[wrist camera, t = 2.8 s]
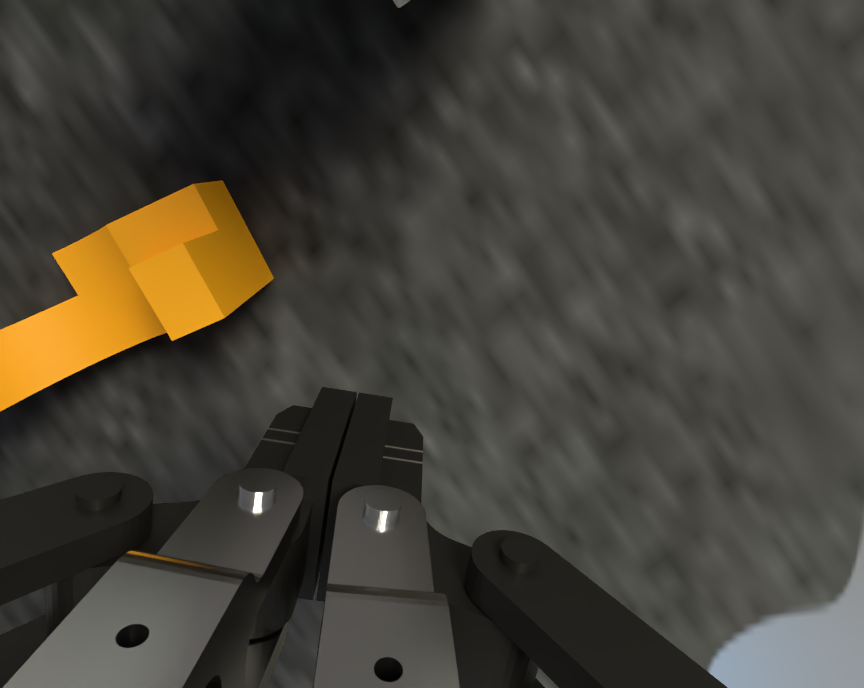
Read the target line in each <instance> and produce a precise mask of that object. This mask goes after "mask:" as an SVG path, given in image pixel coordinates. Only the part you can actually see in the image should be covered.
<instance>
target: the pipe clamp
mask: <svg viewBox="0 0 864 688" xmlns="http://www.w3.org/2000/svg"><path fill="white" fill-rule="evenodd" d="M52 255H53V256H54V258H55V259H56V261H57V262H58V264H59V266H60V267H61V269H62V270H63V272H64V273H65V275H66V277H67V278H68V280H69V281H70V283H71V284H72V286H73V288H74V289H75V291H76V292H77V294H78V296H76V297H74V298H72V299H69V300H67V301H65V302H63V303H60V304H58V305H56V306H54V307H51V308H49V309H47V310H45V311H42V312H40V313H38V314H36V315H33V316H31V317H29V318H27V319H24V320H22V321H20V322H18V323H15V324H13V325H11V326H8V327H6V328H4V329H1V330H0V411H2V410H4V409H6V408H8V407H10V406H12V405H13V404H15V403H17V402H19V401H21V400H23V399H25V398H27V397H28V396H30V395H32V394H34V393H36V392H38V391H40V390H42V389H44V388H46V387H48V386H50V385H52V384H54V383H56V382H58V381H60V380H62V379H64V378H66V377H68V376H70V375H72V374H74V373H76V372H78V371H80V370H82V369H84V368H86V367H88V366H90V365H92V364H94V363H97V362H99V361H101V360H103V359H105V358H107V357H109V356H112V355H114V354H116V353H118V352H120V351H123V350H125V349H127V348H129V347H132V346H134V345H136V344H139V343H141V342H144V341H146V340H148V339H151V338H154V337H156V336H159V335H162V334H164V333H167V334H168V335H169V337H170V339H171V340H172V341H173V340H176V339H178V338H180V337H182V336H185V335H187V334H189V333H192V332H194V331H196V330H198V329H201V328H203V327H205V326H208V325H210V324H212V323H214V322H217V321H219V320H221V319H223V318H225V317H227V316H228V315H229V314H230V313H232V312H233V311H234V310H235V309H237V308H238V307H239V306H240V305H242V304H243V303H244V302H245V301H247V300H248V299H249V298H250V297H252V296H253V295H254V294H255V293H257V292H258V291H259V290H260V289H262V288H263V287H264V286H265V285H267V284H268V283H269V282H270V281H272V280H273V279H274V277H273V275H272V274H271V272H270V270H269V268H268V266H267V264H266V262H265V260H264V258H263V256H262V254H261V253H260V251H259V249H258V247H257V245H256V243H255V241H254V239H253V237H252V235H251V233H250V232H249V230H248V228H247V226H246V224H245V222H244V220H243V218H242V216H241V214H240V212H239V211H238V209H237V207H236V205H235V203H234V201H233V199H232V197H231V195H230V193H229V192H228V190H227V188H226V186H225V184H224V182H223V180H222V181H213V182H205V183H196V184H192V185H190V186H188V187H186V188H184V189H181V190H179V191H177V192H175V193H173V194H171V195H169V196H167V197H165V198H162V199H160V200H158V201H156V202H154V203H152V204H150V205H148V206H145V207H143V208H141V209H139V210H137V211H135V212H133V213H131V214H128V215H126V216H124V217H122V218H120V219H118V220H116V221H114V222H112V223H109V224H107V225H106V226H104V227H103V228H101V229H99V230H98V231H96V232H94V233H92V234H91V235H89V236H87V237H85V238H83V239H81V240H79V241H77V242H75V243H73V244H71V245H69V246H67V247H65V248H63V249H61V250H58V251H56V252H54V253H52Z"/></svg>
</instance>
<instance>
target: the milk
mask: <svg viewBox="0 0 864 688" xmlns="http://www.w3.org/2000/svg"><path fill="white" fill-rule="evenodd" d="M393 1H394V3H395V5H396V6H397V7H398V8H400V7H402V6H403V5H405V4H406V3H407V2H409V1H410V0H393Z"/></svg>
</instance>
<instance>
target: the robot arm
mask: <svg viewBox="0 0 864 688" xmlns="http://www.w3.org/2000/svg"><path fill="white" fill-rule="evenodd" d="M356 396H357V393H356V392H351V391H345V390H339V389H332V388H326V387H322V389H321V391H320V393H319V395H318V397H317V399H316V401H315V403H314V406H313V408H307V407H301V406H294V405H293V406H291V407H289V408H287V409H286V410H284V411H282V412H280V413H278V414H277V415H276V417H275V418H274V420H273V422H272V423H271V425H270V427H269V430H267V432H266V433H265V435H264V437H263V440H261V442H260V443H259V445H258V447H257V448H256V450H255V452H254V454H253V455H252V457H251V459H250V460H249V462H248V464H247V465H246V467H245V469H241V470H237V471H234V472H231V473H228V474H226V475H224V476H223V477H221V478H220V479H218V480H217V481H216V482H215V483H214V484H213V486H212V487H211V488H210V489H209V491H208V492H207V493H206V494H205V495H204V497H203V498H202V499H201V500H199V501H193V502H182V503H163V504H153V490H152V488H151V486H150V485H149V484H148V483H147V482H146V481H144V480H143V479H141V478H139V477H137V476H134V475H130V474H125V473H116V472H103V473H93V474H88V475H83V476H79V477H76V478H72V479H69V480H66V481H62V482H59V483H55V484H52V485H49V486H45V487H42V488H39V489H35V490H32V491H29V492H25V493H22V494H19V495H15V496H12V497H9V498H5V499H2V500H0V605H3V604H5V603H7V602H10V601H12V600H15V599H17V598H19V597H22V596H24V595H26V594H29V593H31V592H34V591H36V590H38V589H41V588H43V587H45V602H46V615H44V616H42V617H39V618H37V619H35V620H33V621H31V622H28V623H26V624H24V625H22V626H20V627H17V628H15V629H13V630H11V631H9V632H6V633H4V634H2V635H0V688H266V687H267V685H268V682H269V680H270V677H271V675H272V672H273V670H274V667H275V665H276V662H277V660H278V657H279V655H280V652H281V650H282V647H283V645H284V642H285V640H286V636H287V631H288V622H289V619H290V618H291V616H292V614H293V611H294V608H295V605H296V601H297V598H302V599H309V600H313V596H314V592H315V588H316V585H317V581H318V577H319V573H320V578H319V585H318V593H317V600H318V601H325V602H324V609H323V617H322V623H321V630H320V637H319V645H318V652H317V659H316V667H315V674H314V681H313V688H545V687H544V686H543V685H542V684H541V683H540V682H539V681H538V680H537V679H536V674H537V671H538V668H540V669H541V670H542V671H543V672H544V673H545V674H546V675H547V676H548V677H549V678H550V679H551V680H552V681H553V682H554V683H555V684H556V685H557V686H558V687H559V688H727V687H726V686H725V685H724V684H722V683H721V682H720V681H719V680H717V679H716V678H715V677H713V676H712V675H711V674H710V673H708V672H707V671H706V670H705V669H703V668H702V667H701V666H700V665H698V664H697V663H696V662H694V661H693V660H692V659H691V658H689V657H688V656H687V655H686V654H684V653H683V652H682V651H680V650H679V649H678V648H677V647H675V646H674V645H673V644H672V643H670V642H669V641H668V640H667V639H665V638H664V637H663V636H661V635H660V634H659V633H658V632H656V631H655V630H654V629H653V628H651V627H650V626H649V625H647V624H646V623H645V622H644V621H642V620H641V619H640V618H639V617H637V616H636V615H635V614H634V613H632V612H631V611H630V610H628V609H627V608H626V607H625V606H623V605H622V604H621V603H620V602H618V601H617V600H616V599H614V598H613V597H612V596H611V595H609V594H608V593H607V592H606V591H604V590H603V589H602V588H601V587H599V586H598V585H597V584H595V583H594V582H593V581H592V580H590V579H589V578H588V577H587V576H585V575H584V574H583V573H582V572H580V571H579V570H578V569H576V568H575V567H574V566H573V565H571V564H570V563H569V562H568V561H566V560H565V559H564V558H562V557H561V556H560V555H559V554H557V553H556V552H555V551H554V550H552V549H551V548H550V547H548V546H547V545H546V544H544V543H543V542H541V541H539V540H537V539H536V538H533V537H531V536H529V535H526V534H523V533H519V532H515V531H507V530H498V531H491V532H487V533H485V534H483V535H481V536H479V537H478V538H477V539H476V540H475V542H474V543H473V546H472V547H470V546H467V545H464V544H462V543H459V542H456V541H454V540H452V539H449V538H447V537H445V536H444V535H442V534H440V533H439V532H438V531H436V530H435V529H434V528H433V527H431V526H430V524H429V523H428V522H427V521H426V513H425V509H424V508H423V506H422V504H421V492H422V459H423V453H422V452H423V436H422V435H421V433H420V432H419V430H418V429H417V428H416V426H415V425H414V424H412V423H405V422H399V421H392V420H389V417H390V411H391V405H392V399H393V398H390V397H384V396H378V395H371V394H365V393H359V395H358V398H357V401H356Z"/></svg>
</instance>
